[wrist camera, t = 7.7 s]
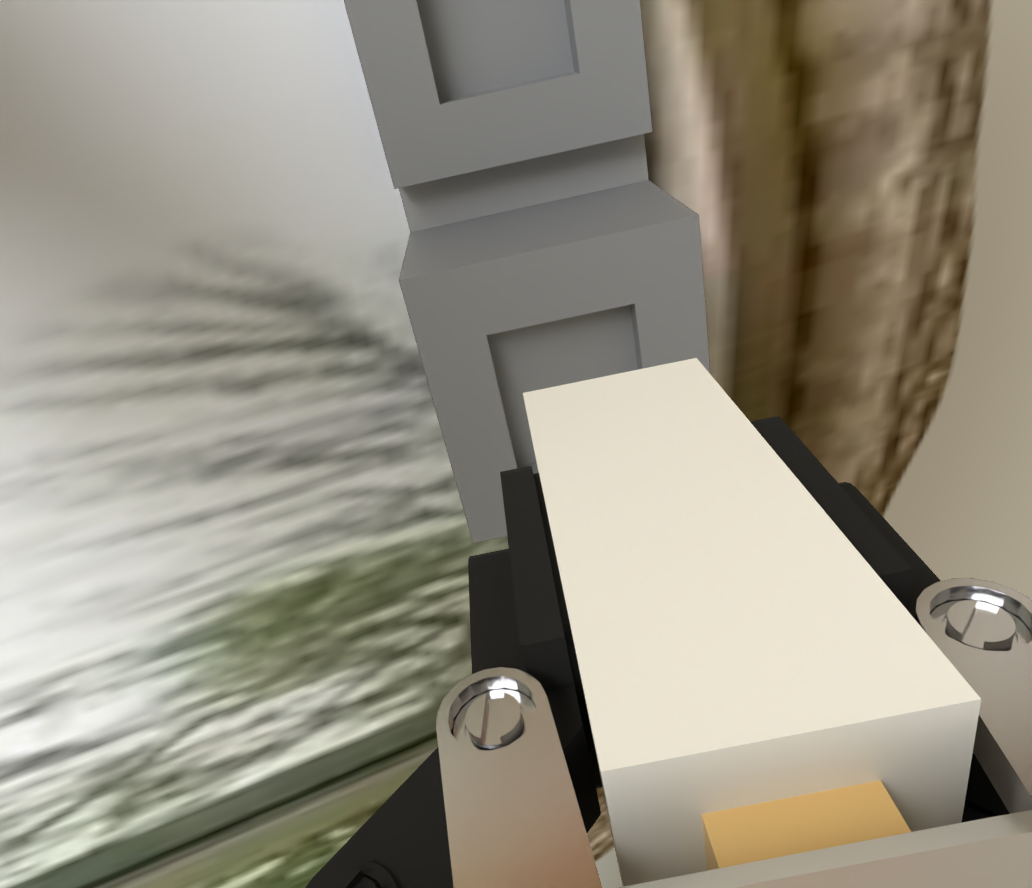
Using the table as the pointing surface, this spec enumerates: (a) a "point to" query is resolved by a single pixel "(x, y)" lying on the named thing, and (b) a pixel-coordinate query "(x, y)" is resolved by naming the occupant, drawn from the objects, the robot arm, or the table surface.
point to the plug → (734, 638)
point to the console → (526, 213)
